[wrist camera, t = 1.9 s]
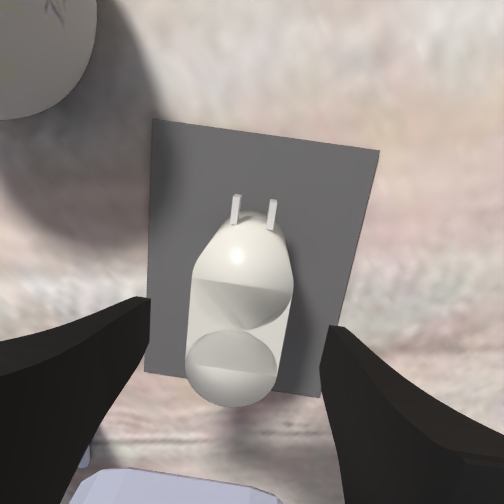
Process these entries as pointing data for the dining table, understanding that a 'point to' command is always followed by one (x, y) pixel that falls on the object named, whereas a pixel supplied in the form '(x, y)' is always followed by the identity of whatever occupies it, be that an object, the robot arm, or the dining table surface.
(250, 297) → the plug block
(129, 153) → the dining table surface
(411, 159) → the dining table surface
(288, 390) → the rubber mat
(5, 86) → the teacup
